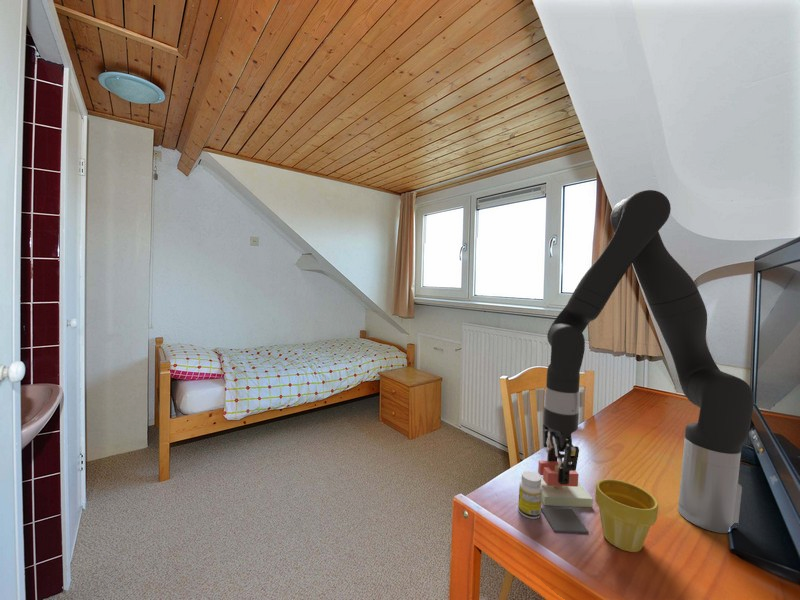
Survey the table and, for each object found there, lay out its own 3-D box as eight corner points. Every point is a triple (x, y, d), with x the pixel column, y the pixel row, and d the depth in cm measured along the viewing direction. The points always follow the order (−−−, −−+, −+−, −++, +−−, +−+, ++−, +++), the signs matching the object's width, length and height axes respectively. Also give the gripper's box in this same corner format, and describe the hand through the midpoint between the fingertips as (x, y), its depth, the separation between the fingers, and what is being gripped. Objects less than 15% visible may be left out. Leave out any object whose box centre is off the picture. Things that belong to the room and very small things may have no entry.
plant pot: (629, 521, 75) (633, 478, 75) (667, 560, 65) (672, 510, 64) (582, 521, 75) (586, 477, 74) (613, 560, 65) (617, 509, 64)
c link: (566, 473, 86) (567, 461, 86) (577, 486, 81) (578, 474, 80) (538, 472, 86) (538, 460, 86) (547, 485, 81) (548, 473, 80)
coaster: (571, 510, 78) (571, 508, 78) (588, 533, 71) (588, 531, 71) (540, 509, 78) (540, 507, 78) (554, 532, 71) (554, 530, 71)
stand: (574, 486, 88) (576, 459, 87) (592, 507, 80) (594, 477, 79) (531, 484, 88) (533, 457, 87) (544, 505, 80) (546, 475, 79)
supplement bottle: (522, 502, 81) (524, 467, 80) (543, 511, 78) (546, 475, 77) (514, 512, 77) (517, 476, 76) (536, 522, 74) (539, 484, 73)
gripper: (593, 419, 75) (589, 495, 76) (563, 397, 90) (559, 460, 91) (559, 418, 75) (554, 494, 76) (533, 396, 90) (530, 460, 91)
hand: (557, 475), depth 83 cm, fingers closed on c link, 5 cm apart
